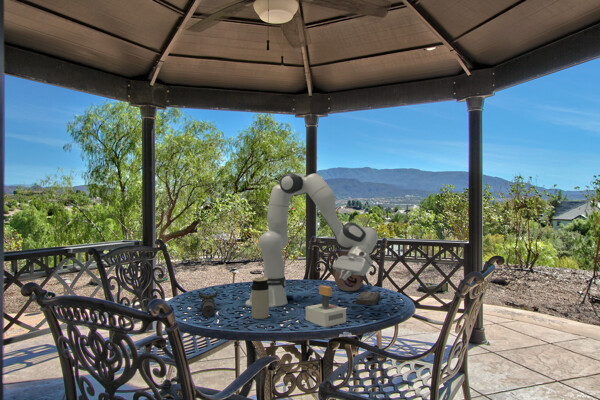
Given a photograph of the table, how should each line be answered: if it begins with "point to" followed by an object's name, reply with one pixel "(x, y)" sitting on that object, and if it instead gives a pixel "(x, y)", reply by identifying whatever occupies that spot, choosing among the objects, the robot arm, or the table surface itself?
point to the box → (368, 298)
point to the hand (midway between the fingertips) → (342, 279)
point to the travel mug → (260, 298)
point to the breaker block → (326, 315)
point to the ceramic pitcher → (352, 281)
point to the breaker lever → (325, 294)
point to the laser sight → (208, 304)
